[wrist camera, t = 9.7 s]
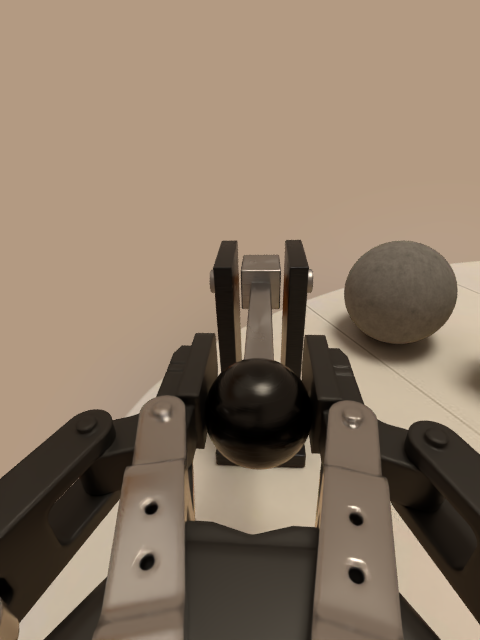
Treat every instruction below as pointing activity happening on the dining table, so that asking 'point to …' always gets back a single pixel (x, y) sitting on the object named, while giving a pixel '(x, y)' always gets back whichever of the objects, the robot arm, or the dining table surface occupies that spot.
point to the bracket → (293, 318)
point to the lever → (258, 384)
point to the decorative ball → (400, 292)
